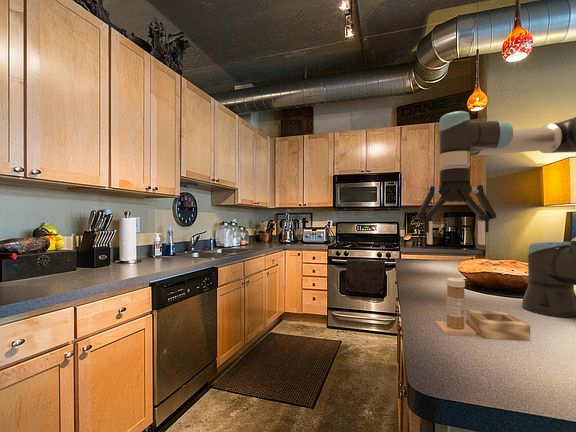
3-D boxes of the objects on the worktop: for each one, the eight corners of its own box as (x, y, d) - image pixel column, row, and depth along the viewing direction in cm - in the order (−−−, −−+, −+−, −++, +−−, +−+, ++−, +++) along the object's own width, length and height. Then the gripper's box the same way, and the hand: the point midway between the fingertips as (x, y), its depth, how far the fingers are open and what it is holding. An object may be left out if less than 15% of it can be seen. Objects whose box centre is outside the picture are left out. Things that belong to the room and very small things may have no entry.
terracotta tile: (464, 325, 90) (464, 322, 90) (476, 335, 82) (476, 332, 82) (435, 323, 91) (435, 321, 91) (444, 333, 83) (444, 331, 83)
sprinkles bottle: (454, 322, 90) (455, 276, 89) (468, 328, 85) (469, 280, 85) (442, 324, 88) (442, 277, 88) (455, 330, 84) (456, 281, 84)
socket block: (507, 325, 89) (507, 312, 89) (530, 340, 79) (530, 325, 79) (466, 323, 91) (466, 310, 91) (483, 338, 80) (483, 322, 80)
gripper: (496, 169, 88) (497, 243, 88) (405, 172, 92) (406, 242, 92) (510, 165, 81) (511, 245, 81) (411, 168, 85) (411, 245, 85)
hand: (455, 244), depth 87 cm, fingers open, 13 cm apart
